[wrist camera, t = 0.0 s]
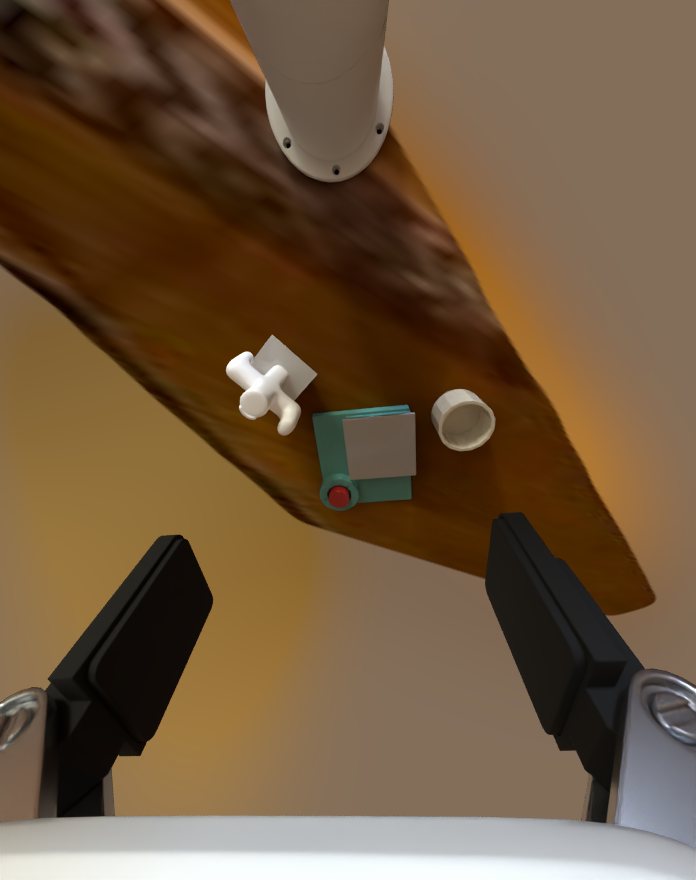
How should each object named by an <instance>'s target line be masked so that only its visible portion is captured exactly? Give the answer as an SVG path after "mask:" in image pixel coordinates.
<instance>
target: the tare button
mask: <svg viewBox="0 0 696 880" xmlns="http://www.w3.org/2000/svg"><path fill="white" fill-rule="evenodd" d="M329 503H330V504H331V505H332V506H333V507H336V508H343V507H345V506H346V505H347V504H348V503H349V491H348V490H347V489H346V488H345V487H343V486H335V487H333V488H332V489H331V490H330V492H329Z"/></svg>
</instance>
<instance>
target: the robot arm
mask: <svg viewBox="0 0 696 880" xmlns="http://www.w3.org/2000/svg"><path fill="white" fill-rule="evenodd" d="M230 2H231V4H232V6H233V8H234V11H235V13H236V15H237V17H238V19H239V21H240V24H241V26H242V28H243V30H244V32H245V35H246V37H247V39H248V42H249V44H250V46H251V48H252V50H253V53H254V55H255V57H256V59H257V61H258V63H259V66H260V68H261V70H262V72H263V74H264V76H265V79H266V90H265V95H266V106H267V112H268V117H269V121H270V125H271V128H272V130H273V133H274V136H275V138H276V140H277V142H278V144H279V146H280V148H281V150H282V151H283V153H284V154H285V155H286V157H287V158H288V160H289V161H290V162H291V163H292V164H293V165H294V166H295V167H296V168H297V169H298V170H299V171H301V172H302V173H304V174H305V175H307V176H308V177H311V178H313V179H316V180H318V181H324V182H340V181H343V180H346V179H349V178H352V177H353V176H355V175H357V174H358V173H360V172H361V171H363V170H364V169H365V168H366V167H367V166H368V165H369V164H370V163H371V162H372V160H373V159H374V158H375V156H376V155H377V154H378V152H379V150H380V148H381V146H382V144H383V142H384V140H385V138H386V135H387V132H388V129H389V125H390V120H391V116H392V108H393V99H394V96H393V95H394V93H393V77H392V71H391V67H390V62H389V59H388V56H387V53H386V50H385V47H384V40H385V31H386V22H387V13H388V4H389V0H230ZM379 129H380V130H381V131H382V133H381V134H377V130H379ZM288 143H289V144H291V147H290V148H287V147H286V146H287V144H288ZM335 170H338V171H339V174H338V175H335V174H334V172H335ZM485 586H486V591H487V595H488V597H489V600H490V602H491V604H492V607H493V609H494V612H495V614H496V617H497V619H498V621H499V624H500V626H501V629H502V631H503V633H504V636H505V638H506V640H507V643H508V645H509V648H510V650H511V653H512V655H513V658H514V660H515V662H516V665H517V667H518V669H519V672H520V674H521V676H522V679H523V682H524V684H525V686H526V689H527V691H528V694H529V696H530V699H531V701H532V703H533V706H534V708H535V711H536V713H537V715H538V718H539V720H540V723H541V725H542V727H543V729H544V730H545V732H546V733H547V734H549V735H553V736H554V738H555V740H556V743H557V745H558V747H559V750H560V751H569V750H570V751H571V750H576V751H577V754H578V756H579V758H580V760H581V762H582V765H583V766H584V769H585V770H586V771H587V772H588V773H589V777H588V783H587V788H586V795H585V800H584V806H583V812H582V819H581V821H577V820H565V819H534V818H533V819H532V818H501V817H499V818H498V817H422V816H418V817H417V816H115V810H114V798H113V782H112V769H111V768H112V766H113V764H114V762H115V760H116V758H117V756H118V755H119V756H140V755H141V753H142V751H143V749H144V747H145V745H146V742H147V741H149V740H150V739H151V738H152V737H153V736H154V735H155V732H156V731H157V729H158V726H159V724H160V722H161V720H162V717H163V715H164V713H165V711H166V709H167V706H168V704H169V702H170V699H171V697H172V695H173V693H174V691H175V688H176V686H177V684H178V682H179V679H180V677H181V675H182V673H183V671H184V668H185V666H186V664H187V662H188V659H189V657H190V655H191V653H192V651H193V648H194V646H195V644H196V641H197V639H198V637H199V635H200V633H201V631H202V628H203V626H204V624H205V622H206V619H207V617H208V615H209V613H210V610H211V608H212V604H213V596H212V594H211V591H210V589H209V587H208V584H207V582H206V580H205V578H204V575H203V573H202V571H201V568H200V567H199V564H198V562H197V560H196V557H195V555H194V553H193V550H192V548H191V546H190V544H189V541H188V540H186V539H184V538H183V536H181V535H167V536H160V537H159V538H158V539H157V540H156V541H155V542H154V544H153V545H152V546H151V547H150V549H149V550H148V551H147V552H146V554H145V555H144V556H143V558H142V559H141V560H140V561H139V563H138V564H137V565H136V566H135V568H134V569H133V570H132V572H131V573H130V574H129V575H128V577H127V578H126V579H125V580H124V582H123V583H122V584H121V586H120V587H119V588H118V590H117V591H116V592H115V594H114V595H113V596H112V597H111V598H110V600H109V601H108V602H107V604H106V605H105V606H104V607H103V609H102V610H101V611H100V613H99V614H98V615H97V617H96V618H95V619H94V620H93V621H92V623H91V624H90V625H89V627H88V628H87V629H86V630H85V632H84V633H83V634H82V636H81V637H80V638H79V640H78V641H77V642H76V643H75V644H74V646H73V647H72V648H71V650H70V651H69V652H68V654H67V655H66V656H65V657H64V659H63V660H62V661H61V663H60V664H59V665H58V666H57V668H56V669H55V670H54V671H53V673H52V674H51V675H50V677H49V678H48V680H49V681H50V682H51V684H50V685H49V686H48V688H47V689H46V690H45V691H44V690H43V689H42V688H37V687H31V688H28V689H24V690H21V691H19V692H17V693H15V694H13V695H11V696H9V697H7V698H6V699H4V700H3V701H1V702H0V880H696V685H694V684H692V683H691V682H689V681H687V680H686V679H684V678H682V677H680V676H678V675H675V674H672V673H670V672H667V671H663V670H658V669H645V668H644V667H643V666H642V664H641V663H640V662H639V660H638V659H637V658H636V656H635V655H634V653H633V652H632V651H631V649H630V648H629V647H628V645H627V644H626V643H625V641H624V640H623V639H622V637H621V636H620V635H619V633H618V632H617V631H616V629H615V628H614V626H613V625H612V624H611V622H610V621H609V620H608V619H607V617H606V616H605V614H604V613H603V612H602V610H601V609H600V608H599V606H598V605H597V604H596V602H595V601H594V600H593V598H592V597H591V595H590V594H589V593H588V591H587V590H586V589H585V587H584V586H583V585H582V583H581V582H580V581H579V579H578V578H577V577H576V575H575V574H574V573H573V571H572V570H571V569H570V567H569V566H568V565H567V564H566V563H565V561H563V560H562V559H560V558H554V556H553V555H552V553H551V552H550V550H549V549H548V548H547V546H546V545H545V543H544V542H543V541H542V539H541V538H540V536H539V535H538V534H537V532H536V531H535V529H534V528H533V527H532V525H531V524H530V522H529V521H528V520H527V518H526V517H525V516H524V514H523V513H521V512H516V513H501V514H499V516H498V519H493V522H492V529H491V537H490V546H489V554H488V563H487V571H486V580H485Z"/></svg>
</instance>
